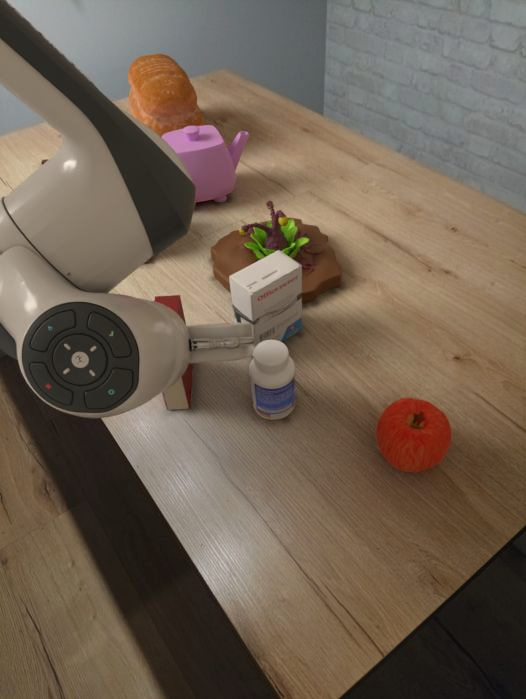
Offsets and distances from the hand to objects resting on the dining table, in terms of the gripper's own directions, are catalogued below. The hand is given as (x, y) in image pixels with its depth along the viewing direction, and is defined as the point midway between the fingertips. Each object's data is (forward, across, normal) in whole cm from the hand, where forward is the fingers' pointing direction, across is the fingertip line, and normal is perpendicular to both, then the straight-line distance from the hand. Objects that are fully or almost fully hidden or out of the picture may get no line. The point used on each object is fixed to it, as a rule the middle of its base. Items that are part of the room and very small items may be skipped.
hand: (168, 342), depth 61 cm
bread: (+57, +7, -44) cm, 73 cm away
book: (+7, 0, +6) cm, 9 cm away
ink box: (+13, -12, 0) cm, 17 cm away
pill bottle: (+4, -12, +9) cm, 15 cm away
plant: (+23, -14, -10) cm, 29 cm away
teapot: (+40, -1, -27) cm, 49 cm away
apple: (-2, -27, +14) cm, 31 cm away
